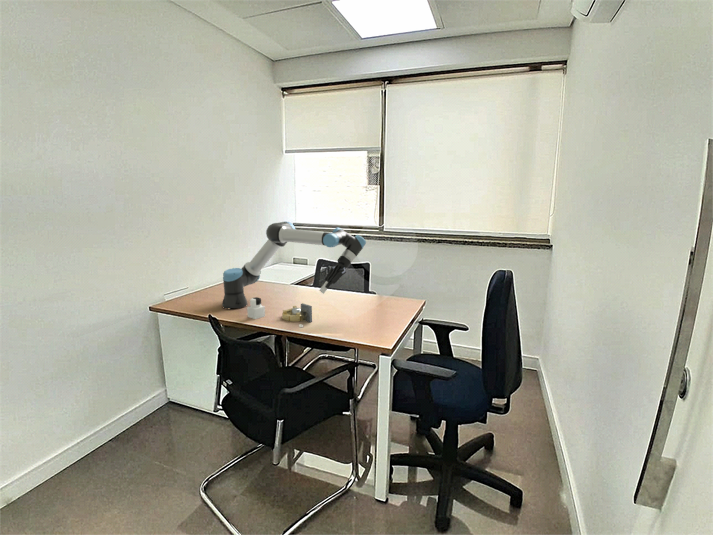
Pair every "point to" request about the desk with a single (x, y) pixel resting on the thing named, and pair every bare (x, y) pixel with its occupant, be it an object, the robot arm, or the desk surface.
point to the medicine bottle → (255, 308)
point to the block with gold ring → (298, 314)
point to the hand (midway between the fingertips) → (321, 291)
